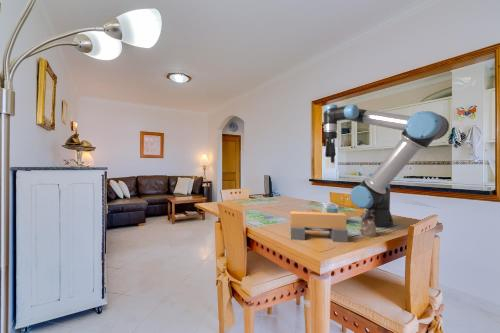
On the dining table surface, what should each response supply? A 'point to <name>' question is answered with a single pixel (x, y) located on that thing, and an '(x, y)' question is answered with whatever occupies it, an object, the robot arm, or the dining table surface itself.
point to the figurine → (367, 224)
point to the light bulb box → (330, 207)
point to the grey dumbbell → (335, 234)
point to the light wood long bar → (318, 220)
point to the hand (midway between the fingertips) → (329, 167)
